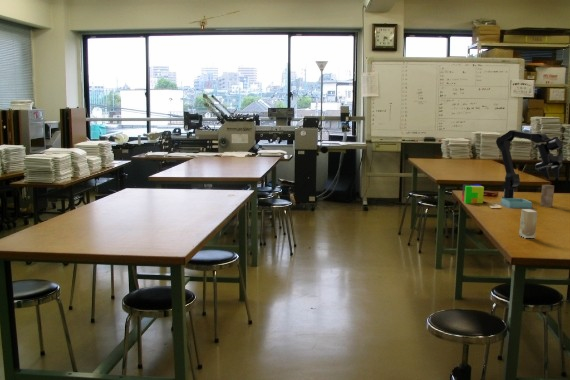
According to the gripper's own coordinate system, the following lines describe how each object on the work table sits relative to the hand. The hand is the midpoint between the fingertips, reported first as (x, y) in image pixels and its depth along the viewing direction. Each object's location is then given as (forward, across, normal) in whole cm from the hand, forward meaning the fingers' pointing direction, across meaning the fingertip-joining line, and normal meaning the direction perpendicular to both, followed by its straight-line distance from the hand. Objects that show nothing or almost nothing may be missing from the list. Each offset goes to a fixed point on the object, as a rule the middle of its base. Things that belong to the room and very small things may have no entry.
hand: (553, 178), depth 327 cm
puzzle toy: (+2, -32, +34) cm, 47 cm away
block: (+15, -6, +6) cm, 17 cm away
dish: (+11, -22, +14) cm, 28 cm away
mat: (+11, -22, +14) cm, 28 cm away
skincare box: (+33, -87, -33) cm, 99 cm away
